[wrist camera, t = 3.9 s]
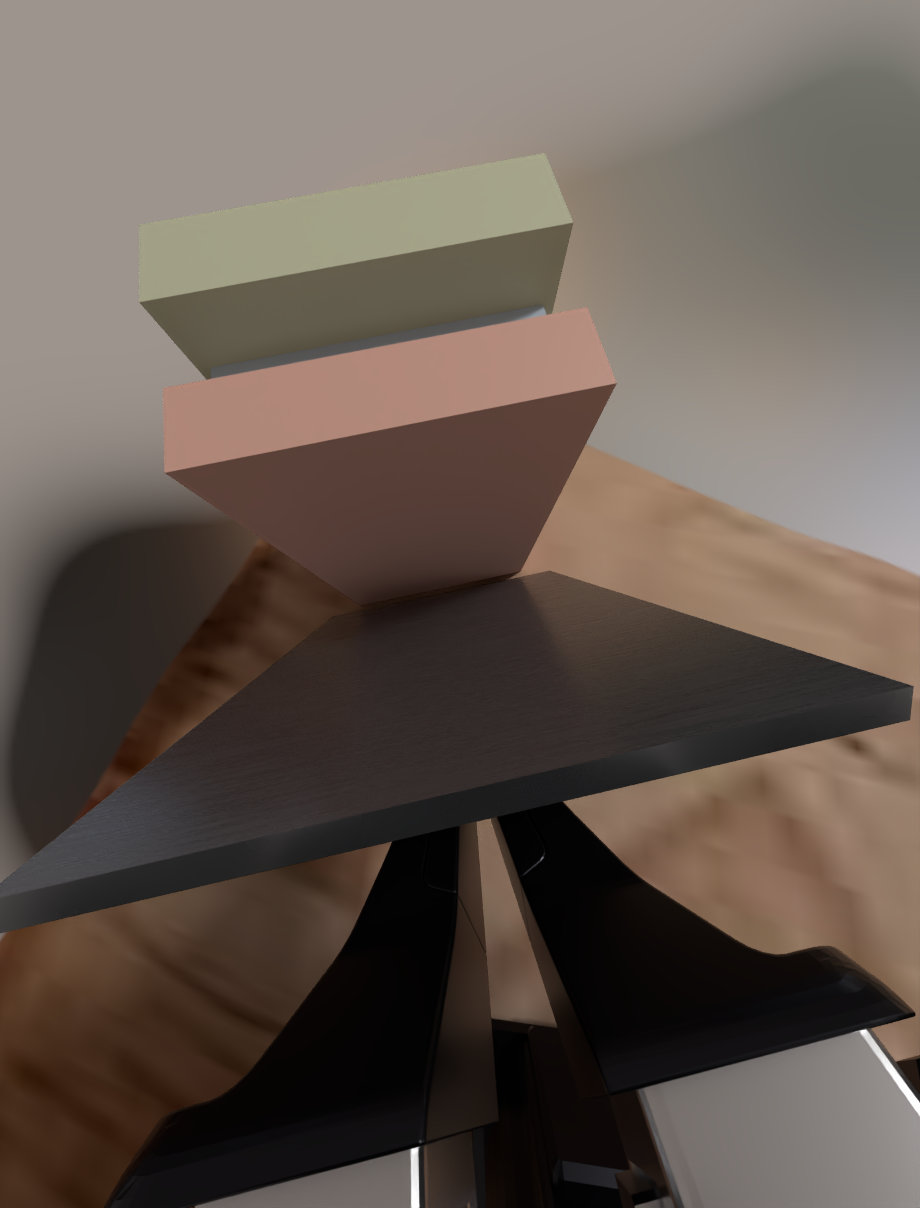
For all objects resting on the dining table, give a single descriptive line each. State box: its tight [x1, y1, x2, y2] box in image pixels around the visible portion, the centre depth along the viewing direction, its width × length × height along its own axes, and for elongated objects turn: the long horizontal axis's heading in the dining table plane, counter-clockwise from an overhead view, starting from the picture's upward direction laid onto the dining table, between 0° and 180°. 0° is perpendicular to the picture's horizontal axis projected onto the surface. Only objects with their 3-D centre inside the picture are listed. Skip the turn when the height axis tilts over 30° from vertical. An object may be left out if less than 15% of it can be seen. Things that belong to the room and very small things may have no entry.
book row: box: [139, 153, 617, 606], centre depth 13 cm, size 6×9×12 cm, turn 102°
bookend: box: [0, 571, 914, 933], centre depth 11 cm, size 1×12×14 cm, turn 101°
